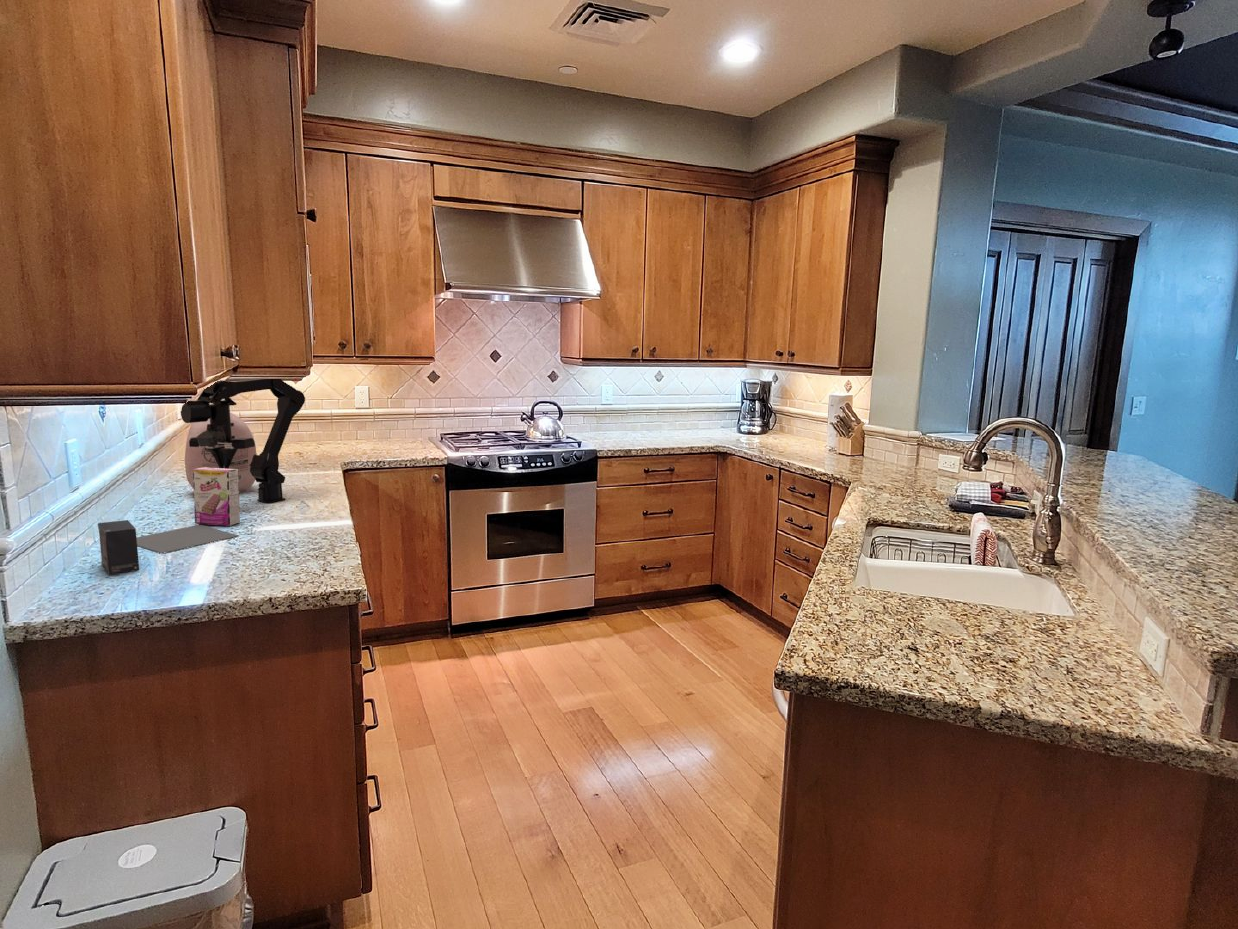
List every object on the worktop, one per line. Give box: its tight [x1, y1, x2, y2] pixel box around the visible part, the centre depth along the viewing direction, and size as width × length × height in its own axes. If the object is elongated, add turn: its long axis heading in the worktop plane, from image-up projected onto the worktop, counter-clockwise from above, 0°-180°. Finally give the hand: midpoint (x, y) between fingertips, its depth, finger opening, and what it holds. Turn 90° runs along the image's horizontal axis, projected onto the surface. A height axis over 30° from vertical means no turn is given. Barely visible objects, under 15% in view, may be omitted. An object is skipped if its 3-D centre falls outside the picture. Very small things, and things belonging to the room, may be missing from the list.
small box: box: [97, 519, 140, 576], centre depth 166 cm, size 11×6×10 cm, turn 43°
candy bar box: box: [193, 467, 241, 527], centre depth 205 cm, size 11×5×16 cm, turn 84°
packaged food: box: [184, 412, 258, 492], centre depth 243 cm, size 22×20×30 cm
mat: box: [136, 524, 240, 554], centre depth 191 cm, size 20×20×1 cm
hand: (224, 469), depth 222 cm, fingers closed
